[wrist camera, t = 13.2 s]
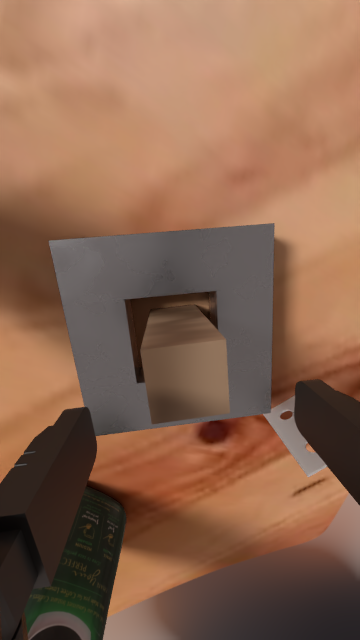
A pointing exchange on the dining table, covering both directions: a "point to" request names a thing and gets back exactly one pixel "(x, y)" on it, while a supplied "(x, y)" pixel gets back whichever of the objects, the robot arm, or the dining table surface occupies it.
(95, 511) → the coffee jar
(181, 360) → the tan square peg
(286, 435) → the bracket
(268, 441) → the dining table surface
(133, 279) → the square hole plate
